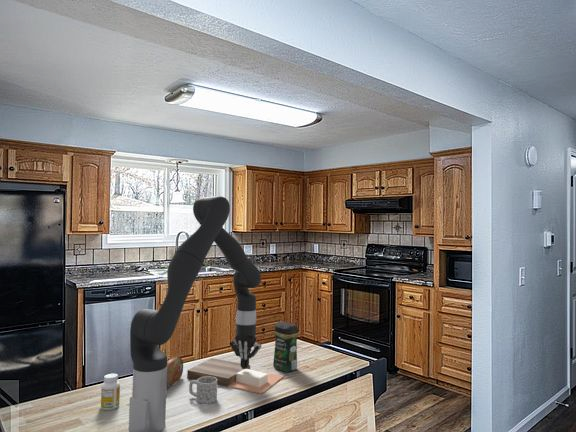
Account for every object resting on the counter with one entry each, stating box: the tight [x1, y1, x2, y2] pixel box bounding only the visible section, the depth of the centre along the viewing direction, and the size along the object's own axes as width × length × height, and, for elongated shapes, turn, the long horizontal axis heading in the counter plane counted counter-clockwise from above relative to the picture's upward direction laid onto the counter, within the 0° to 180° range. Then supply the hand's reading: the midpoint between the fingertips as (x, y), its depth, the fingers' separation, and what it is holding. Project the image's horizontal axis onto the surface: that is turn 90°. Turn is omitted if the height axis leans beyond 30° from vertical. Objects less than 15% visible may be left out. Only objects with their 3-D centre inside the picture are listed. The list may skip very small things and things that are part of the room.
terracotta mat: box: [227, 370, 285, 395], centre depth 158 cm, size 18×14×1 cm
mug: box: [188, 376, 218, 405], centre depth 142 cm, size 10×7×7 cm
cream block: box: [236, 368, 268, 387], centre depth 157 cm, size 6×10×3 cm, turn 60°
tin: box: [166, 356, 184, 389], centre depth 155 cm, size 15×3×8 cm, turn 168°
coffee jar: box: [272, 320, 299, 373], centre depth 174 cm, size 10×8×19 cm
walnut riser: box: [186, 357, 251, 388], centre depth 164 cm, size 16×18×3 cm
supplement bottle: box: [100, 373, 121, 411], centre depth 134 cm, size 5×5×10 cm
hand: (244, 368), depth 159 cm, fingers closed
